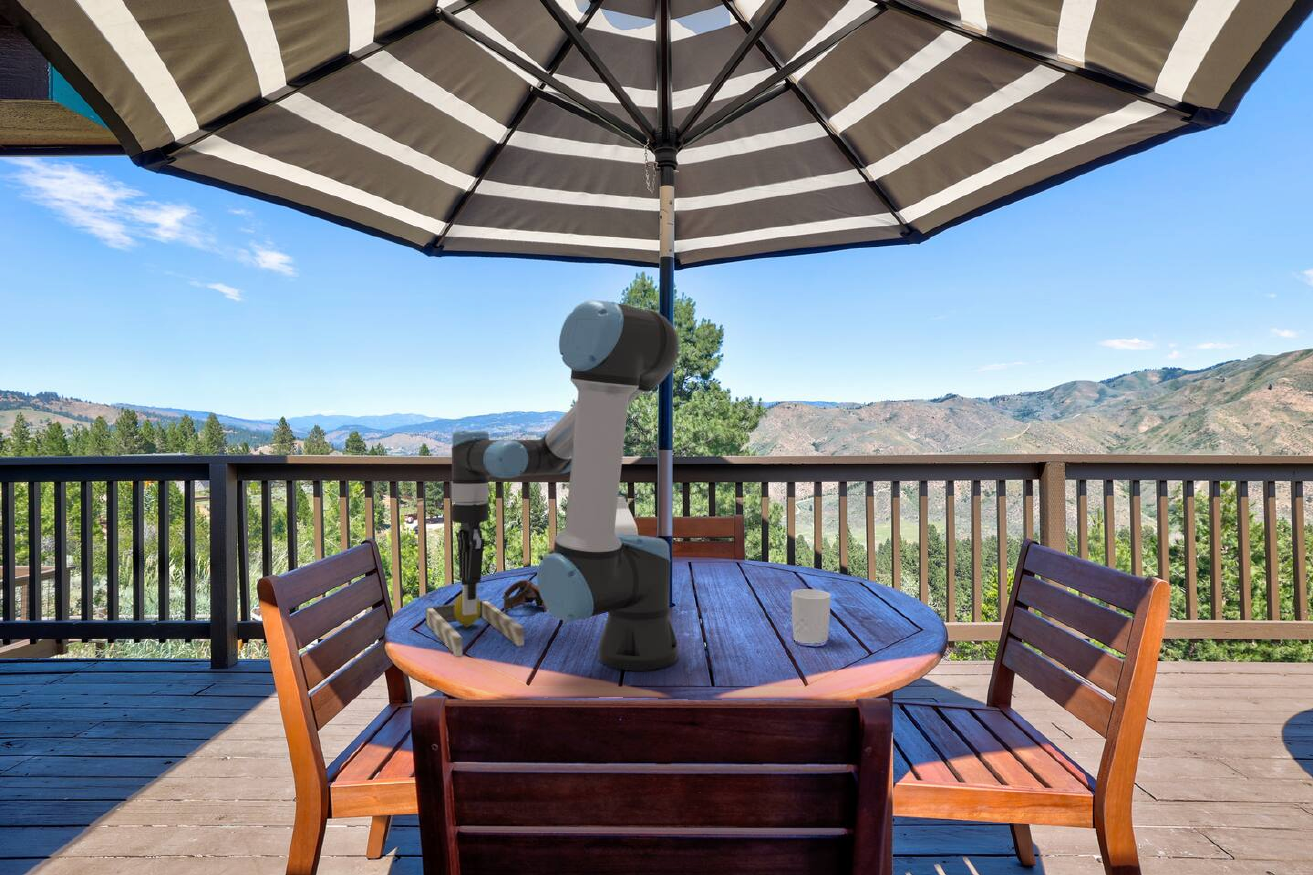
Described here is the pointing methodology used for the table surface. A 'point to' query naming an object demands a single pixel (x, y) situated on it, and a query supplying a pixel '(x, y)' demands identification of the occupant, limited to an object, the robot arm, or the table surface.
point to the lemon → (465, 619)
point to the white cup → (810, 615)
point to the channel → (490, 613)
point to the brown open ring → (523, 595)
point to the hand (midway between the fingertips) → (469, 613)
